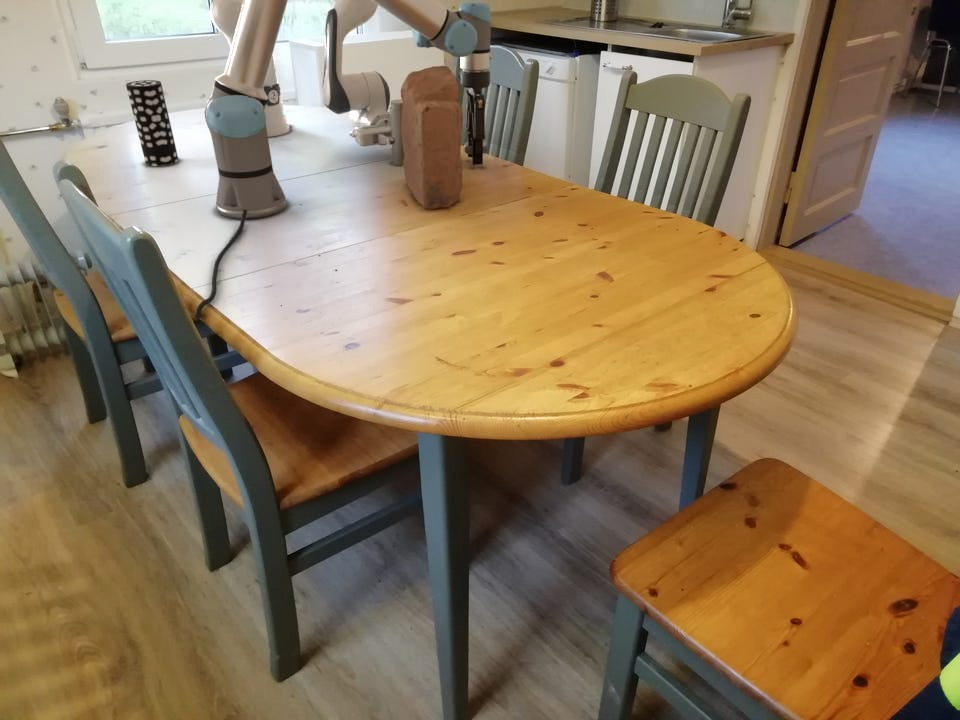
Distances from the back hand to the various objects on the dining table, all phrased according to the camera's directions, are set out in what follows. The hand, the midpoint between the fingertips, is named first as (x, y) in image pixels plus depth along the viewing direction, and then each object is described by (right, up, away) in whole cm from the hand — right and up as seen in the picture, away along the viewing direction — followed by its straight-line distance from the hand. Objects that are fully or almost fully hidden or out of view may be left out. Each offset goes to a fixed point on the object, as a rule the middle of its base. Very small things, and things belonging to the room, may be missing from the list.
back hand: (402, 139), depth 184 cm
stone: (+10, -19, -17) cm, 27 cm away
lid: (+19, -1, +1) cm, 19 cm away
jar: (-1, -5, +4) cm, 6 cm away
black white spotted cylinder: (-65, +3, -3) cm, 65 cm away
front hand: (+19, -4, +3) cm, 20 cm away
